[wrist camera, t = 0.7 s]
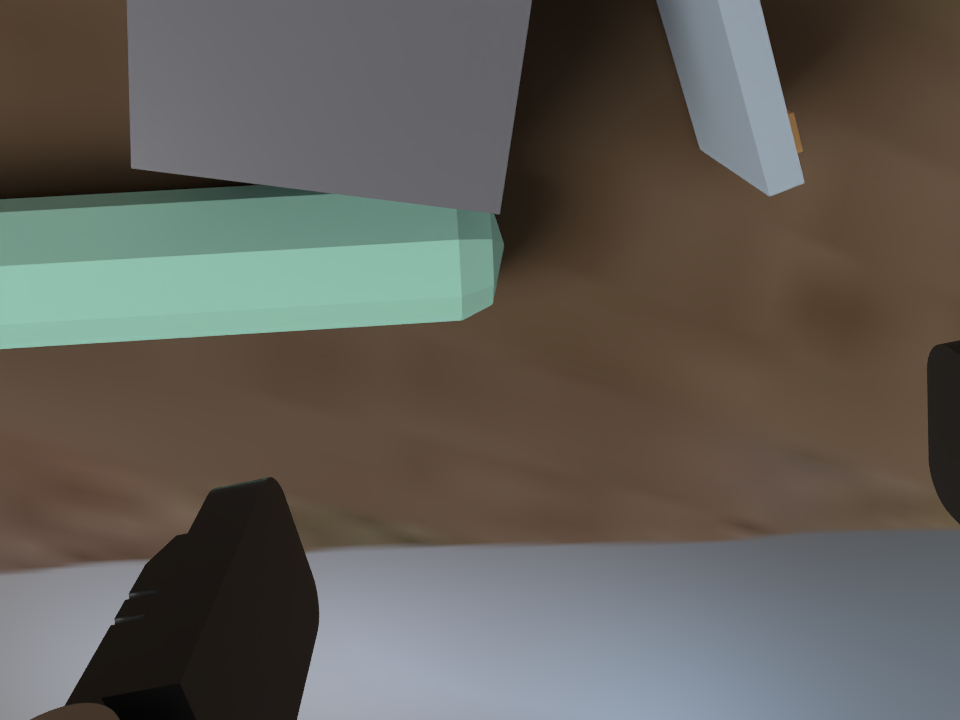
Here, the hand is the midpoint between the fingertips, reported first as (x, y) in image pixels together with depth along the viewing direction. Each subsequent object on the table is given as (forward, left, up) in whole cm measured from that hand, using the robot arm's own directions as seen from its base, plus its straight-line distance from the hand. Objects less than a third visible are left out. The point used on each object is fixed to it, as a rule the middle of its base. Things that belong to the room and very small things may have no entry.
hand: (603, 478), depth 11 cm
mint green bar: (+5, -12, -22) cm, 25 cm away
